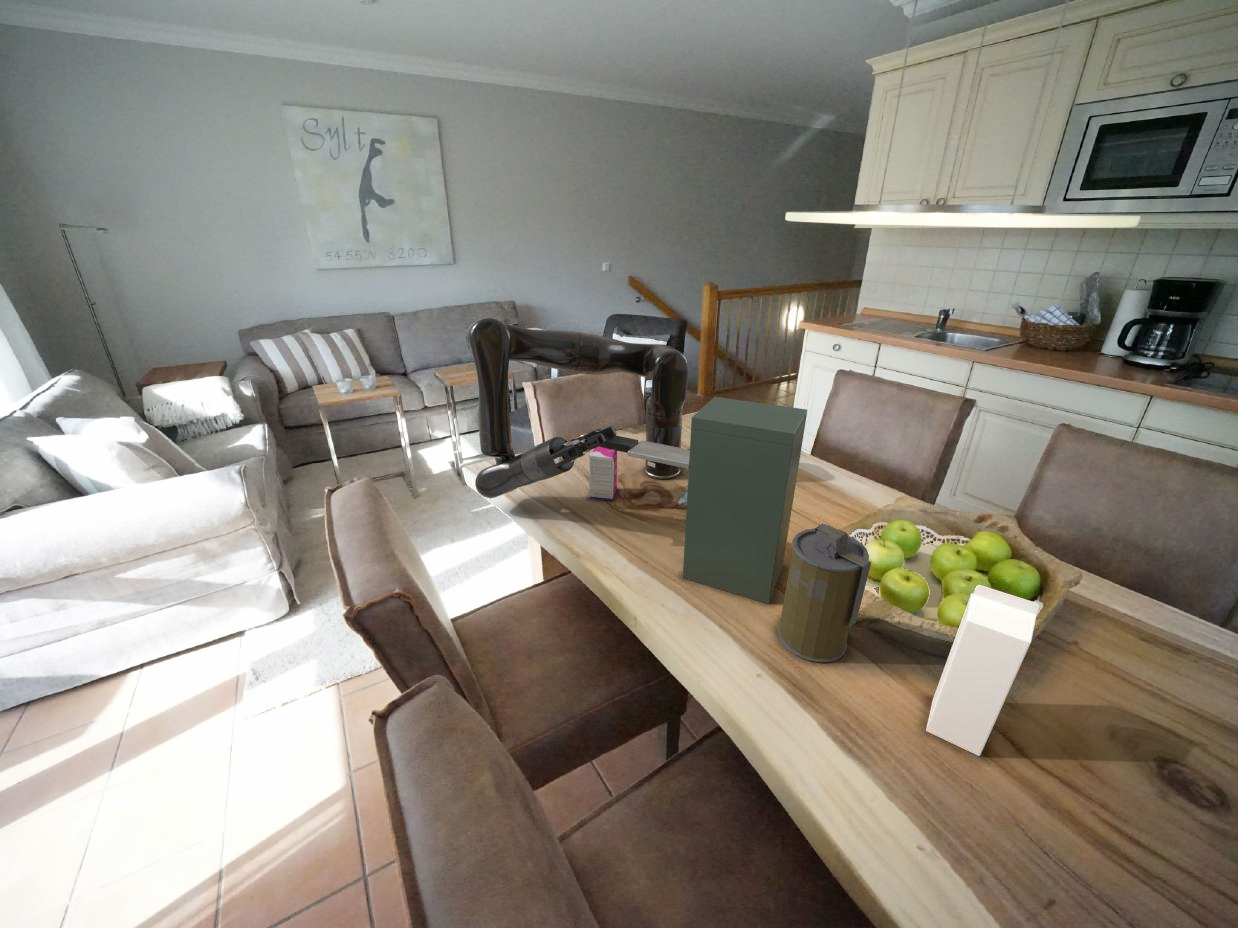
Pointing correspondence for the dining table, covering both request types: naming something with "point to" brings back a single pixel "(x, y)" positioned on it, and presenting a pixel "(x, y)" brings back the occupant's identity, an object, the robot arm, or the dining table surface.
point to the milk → (981, 667)
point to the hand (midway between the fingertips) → (608, 434)
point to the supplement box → (603, 473)
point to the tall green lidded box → (741, 494)
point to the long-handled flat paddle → (646, 450)
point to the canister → (822, 593)
